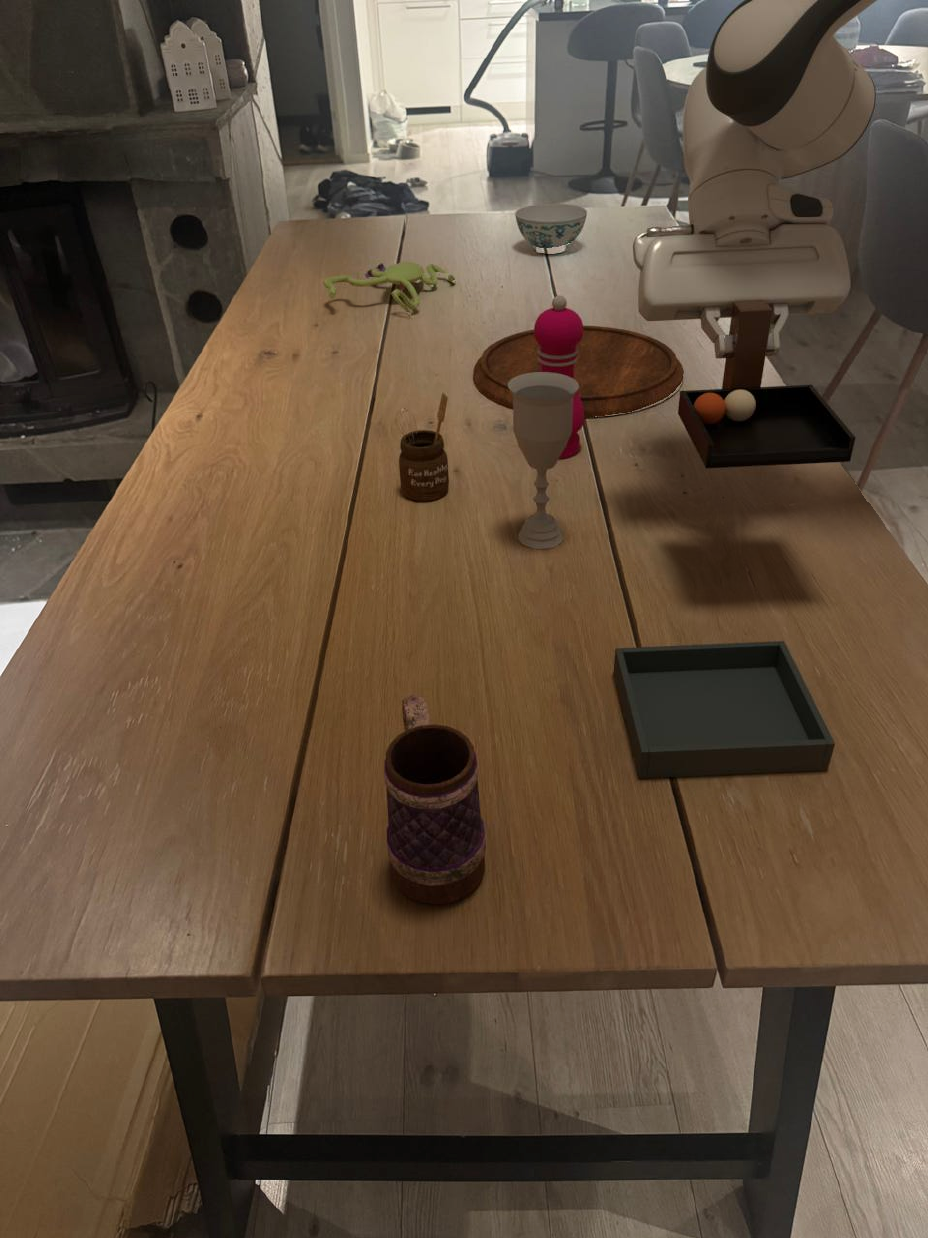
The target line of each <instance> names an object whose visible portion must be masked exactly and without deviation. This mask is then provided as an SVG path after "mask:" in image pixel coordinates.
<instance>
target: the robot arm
mask: <svg viewBox="0 0 928 1238" xmlns="http://www.w3.org/2000/svg"><path fill="white" fill-rule="evenodd" d="M877 1H878V0H743V1H741V2H740V3H739V4H738V5H737V6H736V7H734V8H733V9H732V10H731V12H729V14H727V16H726V17H725V18H724V20H722V22H721V24H720V25H719V27H718V29H717V31H716V32H715V34H714V37H713V39H712V42H711V44H710V48H709V51H708V55H707V58H706V59H707V60H706V66H705V67H704V68H702V69H701V70H700V71H699V72H698V73H697V74H696V76H695V77H694V79H693V80H692V82H691V83H690V86H689V88H688V91H687V94H686V97H685V101H684V106H683V114H682V149H683V151H682V152H683V165H684V170H685V173H686V176H687V178H688V180H689V191H688V197H687V209H688V221H689V224H688V225H687V224H686V225H674V226H667V227H661V226H652V227H649V228H647V229H646V231H643V232H641V233H640V234H638V235H637V236H636V237H635V238H634V241H633V242H632V255H633V261H634V264H635V266H636V267H637V268H638V269H639V270H640V271H639V277H638V278H639V279H638V289H637V290H638V291H637V308H638V313H639V315H640V316H641V317H642V318H643V319H644V320H645V321H646V322H664V321H665V322H666V321H667V322H668V321H683V320H684V321H685V320H687V321H688V320H689V321H690V320H700V328H701V330H702V331H703V332H704V334H706V336H707V338H708V339H709V340H710V342H711V343H712V344H713V345H714V357H715V359H726V358H731V357H732V355H733V354H734V349H735V348H734V344H733V342H734V337H733V335H729V334H726V333H725V332H724V330H723V329H722V327H721V325H720V324H719V320H720V319H727V318H730V319H731V315H732V307H733V302H734V301H753V300H764V301H765V302H766V303H767V304H768V305H769V306H770V307H771V309H772V310H773V312H772V318H771V325H770V326H772V328H771V329H770V331H769V337H768V344H767V350H766V356H765V357H776V356H777V355H778V353H779V352H780V349H781V342H780V333H781V331H782V329H783V327H784V325H785V323H786V321H787V319H788V317H789V316H792V315H794V316H795V315H815V314H817V315H818V314H831V313H833V312H835V311H836V310H837V309H838V308H839V307H840V306H841V305H842V303H843V302H844V301H845V300H846V298H847V297H848V295H849V293H850V292H851V287H852V285H851V274H850V268H849V262H848V257H847V253H846V249H845V245H844V242H843V239H842V237H841V235H840V234H839V232H838V231H837V229H836V228H834V227H832V226H831V225H830V224H831V221H832V219H833V216H834V205H833V203H832V202H831V201H830V200H829V199H827V198H825V197H820V196H816V195H812V194H808V193H804V192H800V191H797V190H794V189H791V188H789V187H786V186H783V185H780V180H783V179H789V178H794V177H796V176H797V177H798V176H800V175H803V174H806V173H808V172H811V171H814V170H816V169H819V168H822V167H824V166H827V165H830V164H831V163H833V162H835V161H836V160H839V159H840V158H842V157H843V156H844V155H846V154H847V153H848V152H849V151H851V149H852V148H854V147H855V146H856V145H857V144H858V142H859V141H860V140H861V139H862V137H863V136H864V134H865V132H866V131H867V128H868V126H869V124H870V122H871V120H872V117H873V115H874V110H875V108H876V107H875V106H876V102H877V101H876V99H877V93H876V85H875V82H874V80H873V78H872V76H871V75H870V74H869V73H868V72H867V71H866V70H865V68H864V67H863V66H862V65H861V63H860V62H859V61H858V60H857V59H856V58H855V56H854V55H853V54H852V53H851V52H850V50H848V49H847V48H846V47H845V46H843V45H842V43H840V41H839V40H838V39H837V38H836V37H835V36H834V35H835V34H836V33H837V32H838V31H839V30H840V29H842V28H843V27H844V26H845V25H846V24H847V23H849V22H850V21H852V20H853V19H854V18H856V17H857V16H859V15H860V14H861V13H862V12H864V11H866V9H868V8H869V7H871V6H872V5H873V4H875V3H876V2H877Z"/></svg>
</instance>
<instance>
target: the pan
mask: <svg viewBox="0 0 928 1238" xmlns="http://www.w3.org/2000/svg"><path fill="white" fill-rule="evenodd" d="M772 312H773V310H772V309H771V307H770V306H769V305H768V304H767V303H766V302H765V301H764V300H753V301H734V302H733V307H732V315H731V318H730V323H729V331H728V335H733V337H734V342H733V344H734V348H735V349H734V354H733V355H732V357H731V358H725V361H724V369H723V377H722V384H721V388H713V389H712V388H711V389H710V388H709V389H693V390H692V389H690V390H679V399H678V407H677V408H678V409H677V414H678V417H679V418H680V421H681V422H682V424H683V426H684V428H685V431H686V433H687V435H688V437H689V438H690V441H691V442H692V444H693V447H694V448H695V450H696V452H697V455H698V457H699V458H700V461H701V462H702V464H703V466H704V468H705V469H706V470H707V469H722V468H723V469H724V468H725V469H726V468H727V469H728V468H747V467H765V466H767V467H769V466H786V465H788V466H789V465H808V464H809V465H811V464H830V463H832V464H833V463H849V462H851V459H852V456H853V451H854V447H855V441H856V436H855V435H854V434H853V432H852V431H851V430H850V429H849V427H847V426H846V424H845V423H844V421H843V420H842V419H841V418H840V417H839V416H838V415H837V413H836V412H835V410H834V409H833V408H832V407H831V406H830V405H829V403H827V401H826V400H825V399H824V398H823V397H822V395H821V394H820V393H819V392H818V390H817V389H816V388H815V387H814V386H813V384H797V385H796V384H795V385H776V386H772V385H771V386H762V381H763V374H764V368H765V362H766V357H767V356H766V350H767V344H768V337H769V333H770V332H771V326H772V325H771V318H772ZM735 390H746V391H748V392H750V393H751V394H752V395H753V397H754V399H755V402H756V407H755V411H754V413H753V414H752V416H751V417H749V418H748V419H747V420H744V421H740V422H737V421H732V420H730V419H729V418H728V417H727V416H726V415H725V414H724V416H723V417H722V419H721V420H720V421H718V422H717V423H715V424H711V425H705V424H703V423H702V421H701V419H700V417H699V416H698V414H697V412H696V410H695V408H694V403H695V401H696V400H697V398H698V397H700V396H701V395H703V394H705V393H715V394H718V395H719V396H721V397H722V399H723V400H725V398H726V397H727V395H728V394H730V393H731V392H733V391H735Z"/></svg>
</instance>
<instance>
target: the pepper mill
mask: <svg viewBox="0 0 928 1238" xmlns="http://www.w3.org/2000/svg"><path fill="white" fill-rule="evenodd" d="M567 305H568V304H567V299H566V297H565V296H563V295H560V294H559V295H556V296H554V297H553V298H552V301H551V307H550V308H548V309H545V310H544V311H542V312H541V313H540V314H539V315H538V316H537V318H536V320H535V323H534V326H533V330H534V337H535V340H536V341H537V343H538V344H539V345H540V347H539V348H538V354H539V355H538V361H539V362H540V363H541V372H550V373H558V374H562V375H566V376H568V377H571V378H573V379H574V364H575V362H577V360H578V356H577V354H578V348H577V347H576V345H577V344H578V343H579V342H580V341H581V339H582V337H583V326H584V324H583V321H582V318H581V317H580V315H579V314H578V313H577V312H576V311H575V310H573V309H571V308H568V307H567ZM584 424H585V418H584V409H583V405H582V402H581V399H580V397H579V394H578V392H577V391H576V393H575V395H574V397H573V419H572V433H571V435H570V437H569V440H568V442H567V445H566V447H565V449H564V451H563V452H562V454H561V456H560V457H559V459H558V460H563V459H566V458H571V457H573V456H575V455H576V454H577V453H578V452H579V450H580V441H581V438H580V437H581V436H580V435H579V433H578V432H579V431H580V430H581V429H582V428H583V426H584Z"/></svg>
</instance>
